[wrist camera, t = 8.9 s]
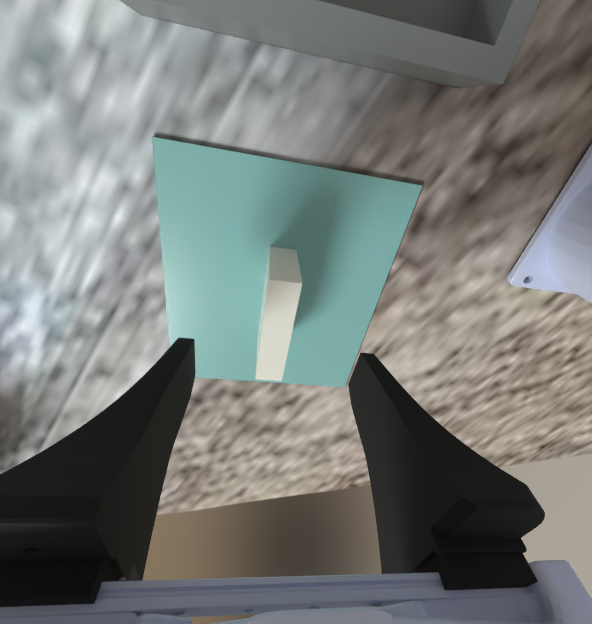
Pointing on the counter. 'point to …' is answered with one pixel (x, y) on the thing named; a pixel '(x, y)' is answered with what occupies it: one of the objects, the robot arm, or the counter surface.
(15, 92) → the counter surface
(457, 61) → the tray
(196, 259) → the lid
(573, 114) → the counter surface
